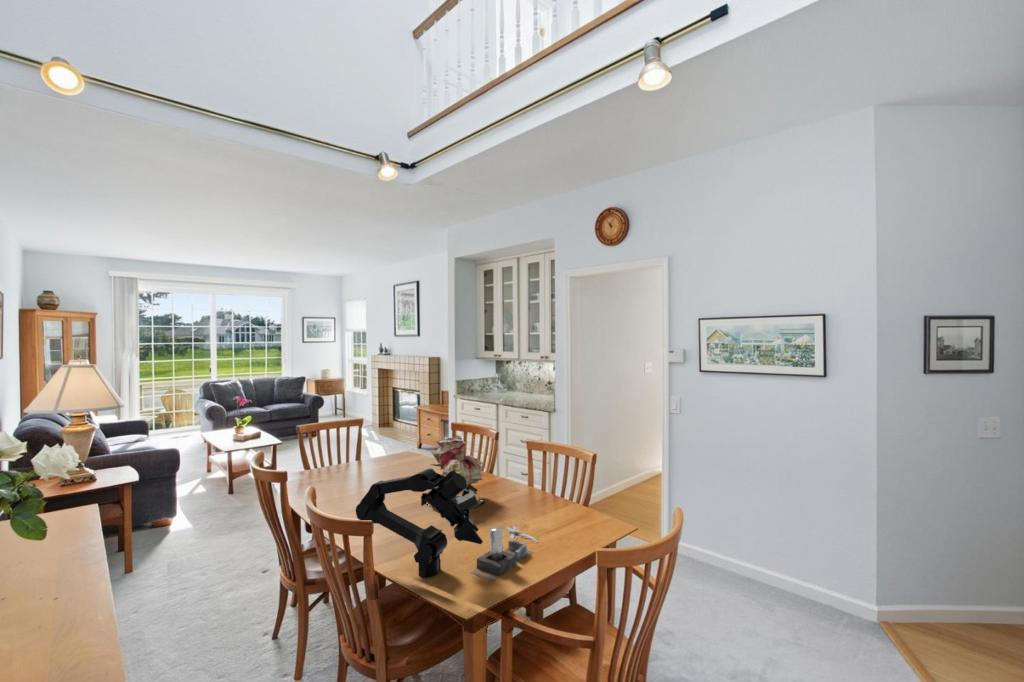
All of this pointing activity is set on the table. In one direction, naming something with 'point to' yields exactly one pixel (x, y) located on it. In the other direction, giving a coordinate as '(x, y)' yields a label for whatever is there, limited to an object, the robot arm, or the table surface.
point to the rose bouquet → (458, 462)
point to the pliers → (519, 533)
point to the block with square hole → (510, 559)
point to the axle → (496, 544)
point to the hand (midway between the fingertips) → (479, 536)
